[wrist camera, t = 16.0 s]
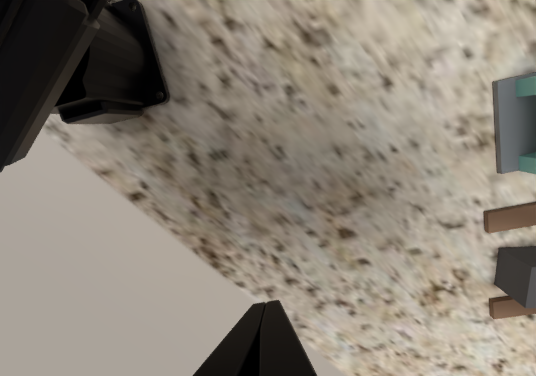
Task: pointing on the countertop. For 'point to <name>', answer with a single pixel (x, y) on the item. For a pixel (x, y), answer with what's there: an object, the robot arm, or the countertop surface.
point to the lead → (517, 274)
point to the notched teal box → (523, 88)
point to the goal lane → (501, 222)
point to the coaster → (513, 124)
